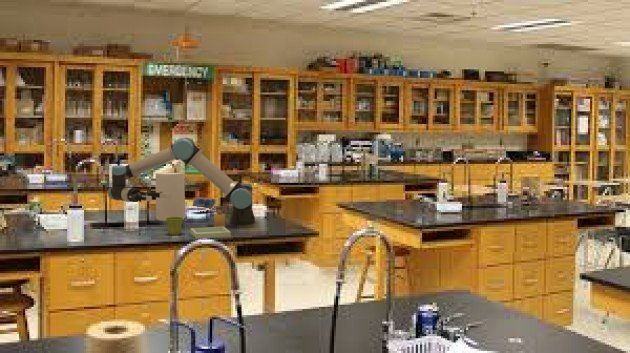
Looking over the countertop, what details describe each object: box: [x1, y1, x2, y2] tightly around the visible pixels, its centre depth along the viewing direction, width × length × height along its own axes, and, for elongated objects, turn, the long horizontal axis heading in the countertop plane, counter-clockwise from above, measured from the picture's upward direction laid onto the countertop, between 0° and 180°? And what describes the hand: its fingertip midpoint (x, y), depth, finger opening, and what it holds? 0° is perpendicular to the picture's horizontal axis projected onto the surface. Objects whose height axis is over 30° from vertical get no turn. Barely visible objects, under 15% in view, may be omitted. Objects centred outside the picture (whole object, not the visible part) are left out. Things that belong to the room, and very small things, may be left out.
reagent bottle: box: [213, 205, 226, 228], centre depth 380 cm, size 6×6×13 cm
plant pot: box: [165, 217, 185, 236], centre depth 368 cm, size 9×9×9 cm
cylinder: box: [155, 172, 186, 222], centre depth 420 cm, size 17×17×28 cm
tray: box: [189, 226, 232, 241], centre depth 364 cm, size 18×18×3 cm
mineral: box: [191, 196, 216, 210], centre depth 445 cm, size 14×10×10 cm, turn 119°
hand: (160, 197), depth 372 cm, fingers open, 13 cm apart
